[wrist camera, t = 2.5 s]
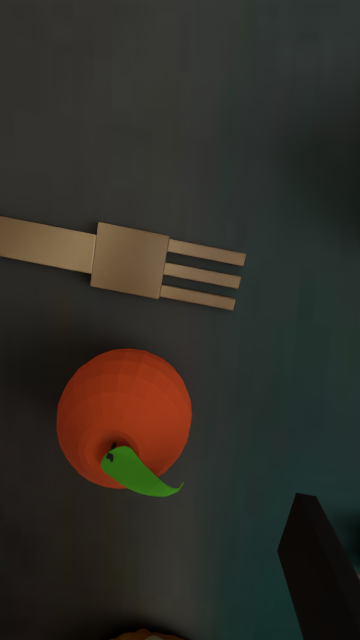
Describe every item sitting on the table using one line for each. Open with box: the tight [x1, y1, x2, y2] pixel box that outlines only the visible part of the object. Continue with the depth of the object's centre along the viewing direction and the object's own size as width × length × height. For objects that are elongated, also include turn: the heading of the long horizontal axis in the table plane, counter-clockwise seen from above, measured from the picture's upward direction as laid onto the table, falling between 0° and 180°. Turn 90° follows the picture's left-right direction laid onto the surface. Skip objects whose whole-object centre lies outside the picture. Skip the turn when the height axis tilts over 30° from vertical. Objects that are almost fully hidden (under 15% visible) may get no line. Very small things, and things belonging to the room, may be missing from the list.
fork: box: [0, 216, 246, 310], centre depth 17 cm, size 24×4×1 cm, turn 79°
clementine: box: [57, 348, 192, 497], centre depth 16 cm, size 8×7×7 cm
